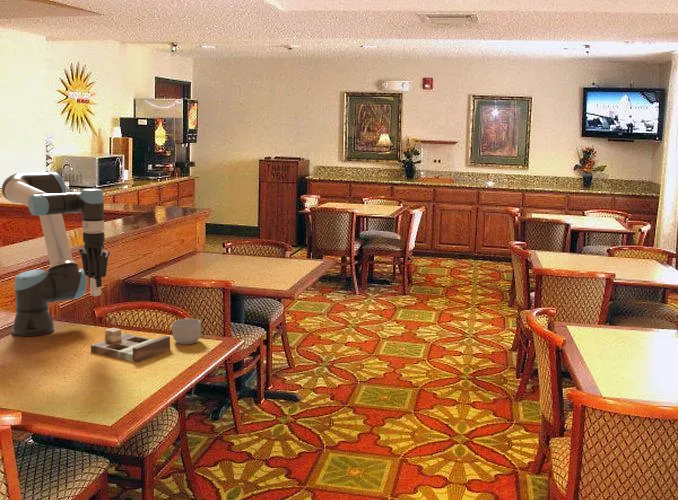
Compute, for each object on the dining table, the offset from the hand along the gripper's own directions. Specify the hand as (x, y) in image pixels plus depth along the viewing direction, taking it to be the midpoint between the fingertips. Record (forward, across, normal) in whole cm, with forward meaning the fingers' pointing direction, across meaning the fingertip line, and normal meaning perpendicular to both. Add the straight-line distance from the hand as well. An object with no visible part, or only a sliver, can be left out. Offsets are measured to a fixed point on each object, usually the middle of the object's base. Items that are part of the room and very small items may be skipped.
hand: (95, 295), depth 277 cm
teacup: (+19, +26, +20) cm, 38 cm away
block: (+16, +8, 0) cm, 18 cm away
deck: (+18, +16, 0) cm, 25 cm away
